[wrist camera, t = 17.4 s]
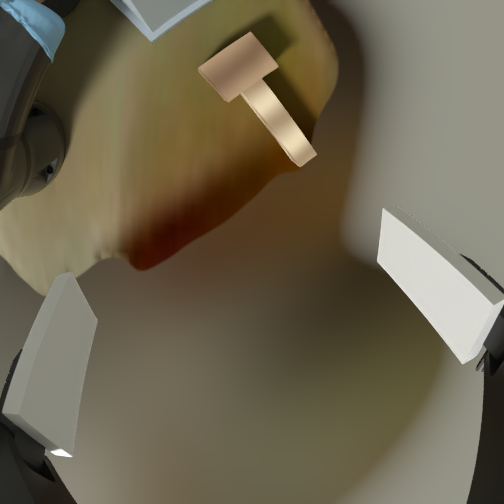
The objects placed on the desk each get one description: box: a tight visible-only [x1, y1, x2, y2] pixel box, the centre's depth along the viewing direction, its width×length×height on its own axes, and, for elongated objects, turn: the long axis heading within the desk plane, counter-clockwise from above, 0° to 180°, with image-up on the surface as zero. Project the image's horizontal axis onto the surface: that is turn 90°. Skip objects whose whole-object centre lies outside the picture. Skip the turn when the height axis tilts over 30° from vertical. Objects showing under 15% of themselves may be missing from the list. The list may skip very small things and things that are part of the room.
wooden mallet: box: [198, 32, 317, 167], centre depth 38 cm, size 20×8×6 cm, turn 37°
